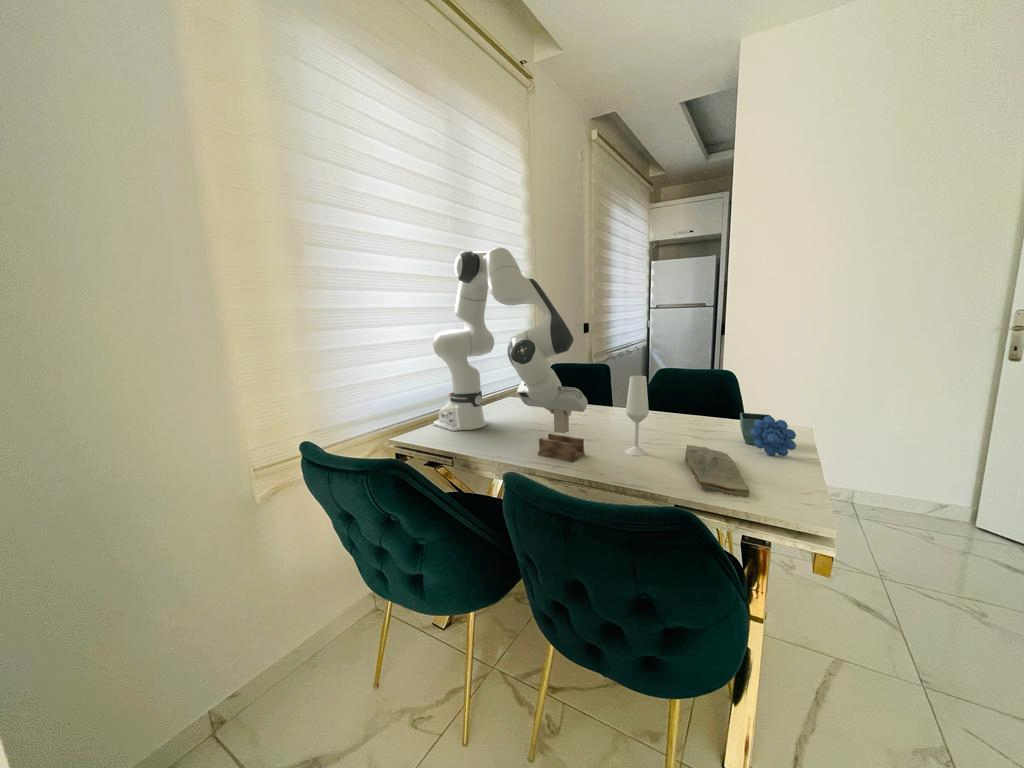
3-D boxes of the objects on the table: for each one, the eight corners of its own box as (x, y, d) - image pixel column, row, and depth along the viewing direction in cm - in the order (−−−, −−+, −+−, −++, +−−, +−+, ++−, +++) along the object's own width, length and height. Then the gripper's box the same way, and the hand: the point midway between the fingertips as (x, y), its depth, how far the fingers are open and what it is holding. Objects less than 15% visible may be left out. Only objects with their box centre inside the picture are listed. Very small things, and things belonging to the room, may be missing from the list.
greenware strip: (554, 431, 121) (553, 400, 120) (558, 429, 124) (558, 398, 122) (564, 433, 119) (563, 401, 118) (568, 431, 122) (568, 399, 120)
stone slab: (724, 446, 119) (754, 482, 90) (723, 459, 119) (753, 499, 91) (680, 443, 122) (696, 477, 94) (679, 455, 123) (695, 493, 94)
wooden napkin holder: (538, 455, 123) (538, 439, 122) (551, 448, 130) (550, 433, 129) (573, 462, 116) (573, 445, 115) (584, 454, 123) (584, 438, 122)
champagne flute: (647, 456, 119) (649, 378, 115) (624, 454, 121) (626, 378, 117) (647, 449, 125) (649, 375, 122) (625, 448, 128) (627, 375, 124)
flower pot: (772, 448, 123) (774, 420, 122) (740, 445, 127) (741, 418, 126) (768, 440, 131) (770, 414, 130) (737, 437, 135) (739, 412, 133)
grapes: (748, 457, 117) (751, 417, 115) (748, 450, 122) (751, 412, 120) (796, 463, 111) (800, 422, 109) (794, 456, 116) (797, 416, 114)
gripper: (582, 379, 107) (596, 407, 116) (519, 375, 119) (537, 401, 128) (574, 398, 104) (590, 425, 113) (511, 392, 116) (530, 417, 125)
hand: (561, 412), depth 121 cm, fingers closed on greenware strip, 3 cm apart
